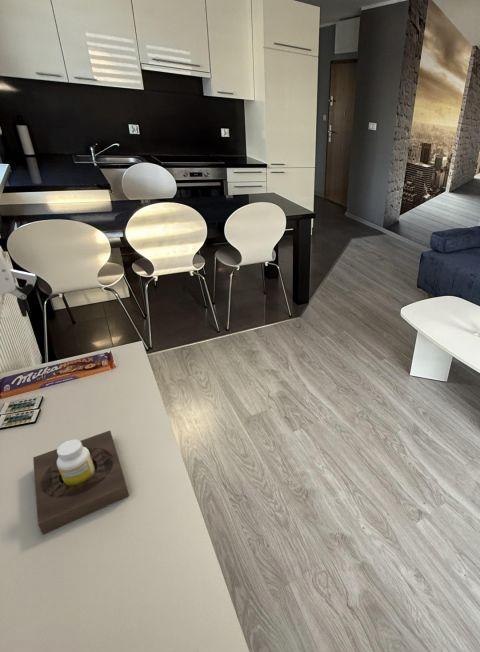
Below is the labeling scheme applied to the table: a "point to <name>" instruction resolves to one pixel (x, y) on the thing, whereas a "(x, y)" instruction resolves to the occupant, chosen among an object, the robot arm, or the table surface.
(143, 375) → the table surface
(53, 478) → the socket pad
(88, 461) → the supplement bottle
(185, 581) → the table surface
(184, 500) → the table surface
